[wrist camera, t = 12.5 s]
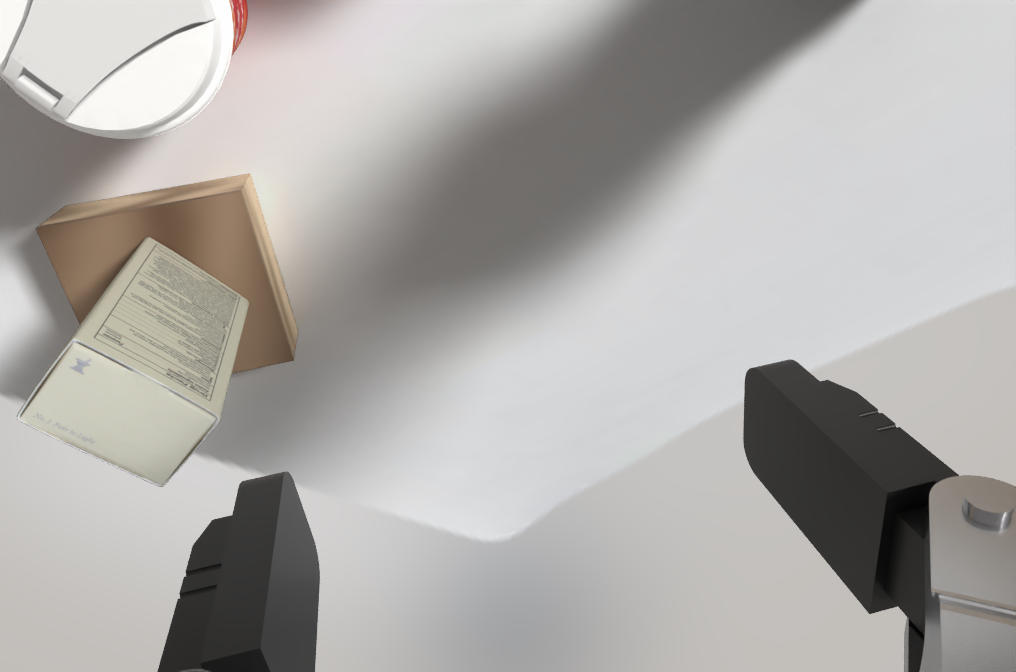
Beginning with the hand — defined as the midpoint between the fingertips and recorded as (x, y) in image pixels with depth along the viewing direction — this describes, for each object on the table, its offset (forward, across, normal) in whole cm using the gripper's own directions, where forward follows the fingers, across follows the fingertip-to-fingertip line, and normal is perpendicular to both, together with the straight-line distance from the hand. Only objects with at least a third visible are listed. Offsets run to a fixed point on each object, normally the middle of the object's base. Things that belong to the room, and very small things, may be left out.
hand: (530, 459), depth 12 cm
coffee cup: (+32, +10, -8) cm, 35 cm away
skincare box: (+28, +14, +6) cm, 32 cm away
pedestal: (+32, +14, +6) cm, 36 cm away
